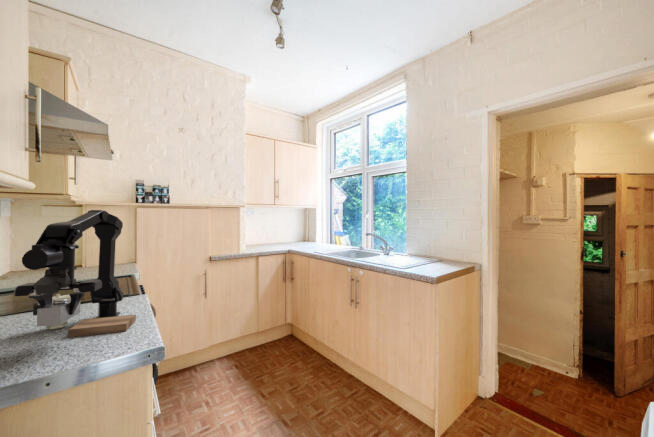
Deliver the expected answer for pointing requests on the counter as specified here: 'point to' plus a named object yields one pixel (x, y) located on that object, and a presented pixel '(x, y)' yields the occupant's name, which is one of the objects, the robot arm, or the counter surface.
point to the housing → (55, 312)
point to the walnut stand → (102, 325)
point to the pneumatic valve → (37, 305)
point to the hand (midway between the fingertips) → (60, 315)
